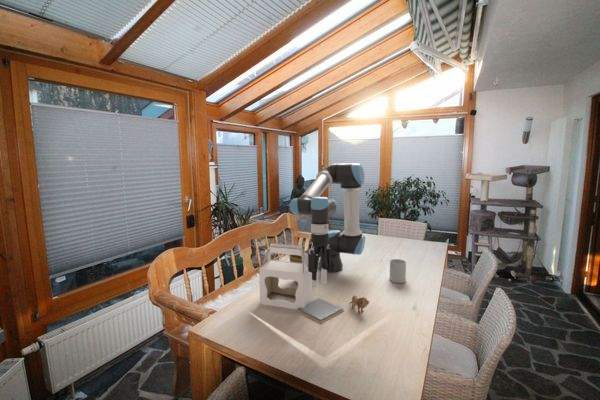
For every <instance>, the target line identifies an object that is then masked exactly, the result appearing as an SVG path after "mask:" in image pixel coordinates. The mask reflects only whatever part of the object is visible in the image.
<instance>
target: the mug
mask: <svg viewBox="0 0 600 400" xmlns="http://www.w3.org/2000/svg"><path fill="white" fill-rule="evenodd" d="M406 272H407V262H406V260H404V259H399V258H397V259H396V258H393V259H391V260H389V281H390V282H392V283H394V284H395V283H396V284H404V283H406V278H407V277H406V275H407V273H406Z"/></svg>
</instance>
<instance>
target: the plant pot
mask: <svg viewBox="0 0 600 400" xmlns="http://www.w3.org/2000/svg"><path fill="white" fill-rule="evenodd" d="M303 252H306V253H307V250H303ZM288 257H289V262H295V263H302V257H301V256H299V255H290V254H288ZM295 282H296V284H298V282H297V281H295Z"/></svg>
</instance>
